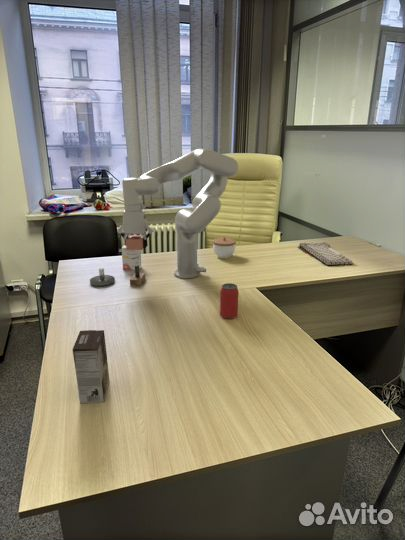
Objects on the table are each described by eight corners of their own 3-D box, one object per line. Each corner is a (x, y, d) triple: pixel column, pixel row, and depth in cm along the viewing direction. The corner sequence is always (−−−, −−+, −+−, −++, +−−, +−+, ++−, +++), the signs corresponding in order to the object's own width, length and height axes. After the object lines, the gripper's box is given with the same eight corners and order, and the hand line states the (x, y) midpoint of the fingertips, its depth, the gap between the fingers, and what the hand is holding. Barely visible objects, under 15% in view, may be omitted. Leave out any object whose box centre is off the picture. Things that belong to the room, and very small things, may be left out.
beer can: (239, 313, 141) (240, 283, 137) (235, 320, 135) (236, 290, 131) (222, 310, 143) (223, 281, 139) (217, 318, 137) (218, 288, 133)
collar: (146, 245, 167) (145, 235, 165) (142, 250, 161) (141, 240, 159) (131, 244, 168) (130, 235, 166) (126, 249, 161) (125, 239, 160)
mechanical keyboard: (358, 265, 194) (359, 259, 193) (325, 268, 191) (325, 262, 190) (323, 245, 229) (324, 240, 228) (294, 247, 226) (295, 242, 224)
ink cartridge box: (122, 269, 186) (120, 241, 180) (125, 266, 190) (123, 238, 185) (139, 270, 185) (137, 242, 180) (141, 267, 189) (140, 239, 184)
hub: (118, 278, 174) (117, 265, 172) (110, 287, 164) (108, 273, 162) (95, 277, 175) (94, 264, 173) (86, 286, 165) (84, 272, 163)
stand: (145, 279, 174) (144, 262, 171) (140, 286, 165) (139, 269, 163) (135, 278, 174) (134, 262, 172) (130, 285, 166) (128, 269, 163)
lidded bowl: (223, 251, 214) (224, 233, 211) (240, 256, 206) (240, 237, 202) (208, 256, 206) (208, 237, 203) (224, 261, 198) (224, 241, 194)
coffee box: (86, 381, 102) (79, 329, 96) (110, 380, 102) (105, 328, 97) (78, 404, 93) (71, 349, 88) (104, 402, 94) (98, 347, 88)
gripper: (155, 206, 160) (157, 245, 167) (116, 205, 162) (120, 244, 169) (151, 209, 154) (153, 250, 160) (110, 209, 155) (114, 249, 162)
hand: (136, 247), depth 164 cm, fingers closed on collar, 7 cm apart
